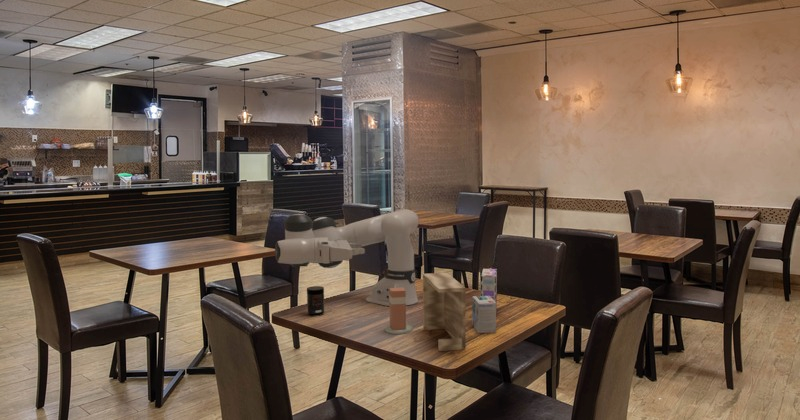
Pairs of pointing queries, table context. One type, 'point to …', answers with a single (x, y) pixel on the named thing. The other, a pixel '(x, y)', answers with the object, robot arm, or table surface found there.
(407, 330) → the disc
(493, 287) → the candy box
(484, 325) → the light bulb box
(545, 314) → the table surface
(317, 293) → the supplement container
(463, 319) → the shelf
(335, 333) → the table surface
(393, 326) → the carton
